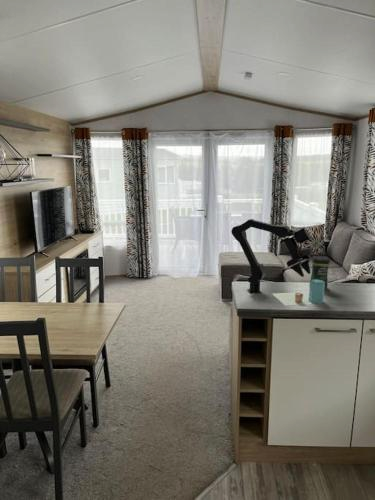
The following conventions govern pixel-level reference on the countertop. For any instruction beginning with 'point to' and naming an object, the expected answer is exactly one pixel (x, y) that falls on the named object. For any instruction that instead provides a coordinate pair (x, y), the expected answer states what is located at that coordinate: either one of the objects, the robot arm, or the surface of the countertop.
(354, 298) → the countertop surface
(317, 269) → the coffee jar
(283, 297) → the sage mat
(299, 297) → the terracotta pot
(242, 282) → the countertop surface
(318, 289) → the teal rounded cylinder
